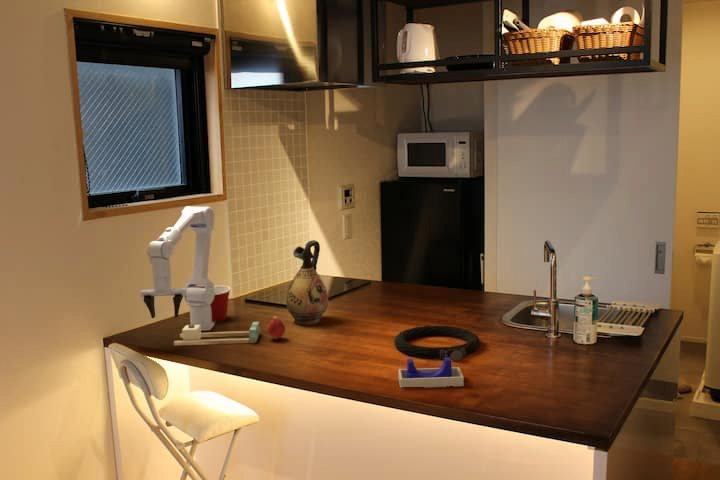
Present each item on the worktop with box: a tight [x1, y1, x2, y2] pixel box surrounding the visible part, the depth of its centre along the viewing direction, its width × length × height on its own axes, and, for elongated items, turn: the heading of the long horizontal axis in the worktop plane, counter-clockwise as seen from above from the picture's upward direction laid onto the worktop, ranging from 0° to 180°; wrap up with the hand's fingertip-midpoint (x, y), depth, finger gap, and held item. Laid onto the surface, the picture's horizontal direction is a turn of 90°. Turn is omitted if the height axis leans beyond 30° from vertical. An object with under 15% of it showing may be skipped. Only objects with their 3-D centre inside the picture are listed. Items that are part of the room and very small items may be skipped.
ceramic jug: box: [285, 239, 329, 326], centre depth 261 cm, size 17×15×30 cm
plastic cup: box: [210, 285, 232, 322], centre depth 268 cm, size 11×11×12 cm
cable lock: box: [393, 325, 481, 362], centre depth 228 cm, size 28×4×30 cm
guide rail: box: [173, 321, 261, 346], centre depth 243 cm, size 10×27×4 cm, turn 91°
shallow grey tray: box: [397, 366, 465, 389], centre depth 197 cm, size 8×17×2 cm, turn 91°
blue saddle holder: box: [406, 357, 452, 379], centre depth 198 cm, size 12×4×6 cm, turn 93°
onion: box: [267, 316, 286, 341], centre depth 241 cm, size 6×6×8 cm
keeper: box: [181, 323, 202, 340], centre depth 243 cm, size 6×5×5 cm
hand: (165, 317), depth 237 cm, fingers open, 7 cm apart
